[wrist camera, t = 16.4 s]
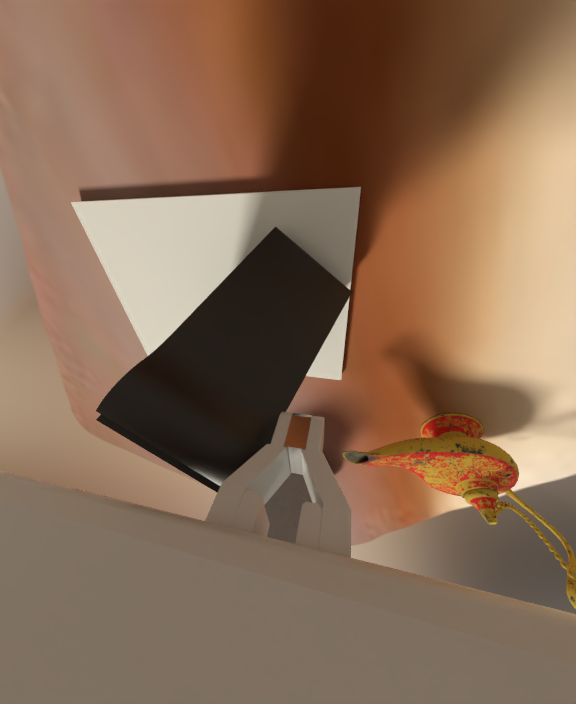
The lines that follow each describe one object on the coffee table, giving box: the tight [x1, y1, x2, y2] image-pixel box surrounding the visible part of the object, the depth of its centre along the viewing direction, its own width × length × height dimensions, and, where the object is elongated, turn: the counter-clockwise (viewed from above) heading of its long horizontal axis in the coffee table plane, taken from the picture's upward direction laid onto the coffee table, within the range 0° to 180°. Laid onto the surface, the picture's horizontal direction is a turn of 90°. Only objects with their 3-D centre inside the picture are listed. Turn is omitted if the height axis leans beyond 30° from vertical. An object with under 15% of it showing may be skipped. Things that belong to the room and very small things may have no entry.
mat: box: [71, 187, 361, 380], centre depth 20 cm, size 20×14×1 cm
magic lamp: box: [342, 413, 576, 609], centre depth 19 cm, size 7×18×11 cm, turn 72°
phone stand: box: [96, 227, 352, 493], centre depth 13 cm, size 9×6×12 cm, turn 144°
